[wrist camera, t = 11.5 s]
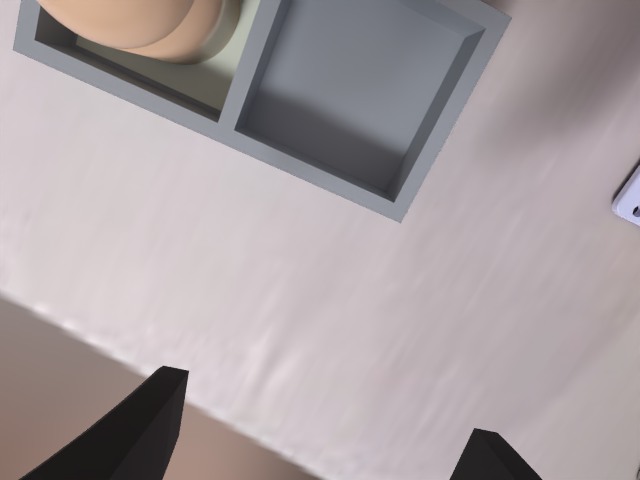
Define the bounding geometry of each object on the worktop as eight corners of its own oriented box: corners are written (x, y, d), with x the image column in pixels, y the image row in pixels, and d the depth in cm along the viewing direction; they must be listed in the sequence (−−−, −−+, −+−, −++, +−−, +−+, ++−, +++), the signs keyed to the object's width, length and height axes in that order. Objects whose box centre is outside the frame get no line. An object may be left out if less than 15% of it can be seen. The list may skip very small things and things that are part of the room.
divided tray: (481, 31, 15) (512, 17, 13) (389, 206, 17) (400, 222, 15) (109, -168, 13) (59, -230, 11) (61, 58, 15) (12, 50, 13)
